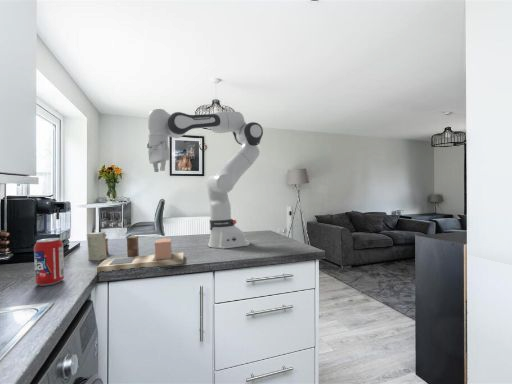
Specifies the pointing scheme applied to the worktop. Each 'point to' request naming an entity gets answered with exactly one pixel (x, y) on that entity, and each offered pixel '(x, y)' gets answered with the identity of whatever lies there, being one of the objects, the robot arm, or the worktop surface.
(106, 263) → the board
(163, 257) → the block
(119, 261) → the pad
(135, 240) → the peg
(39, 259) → the soda can
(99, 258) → the skincare box
